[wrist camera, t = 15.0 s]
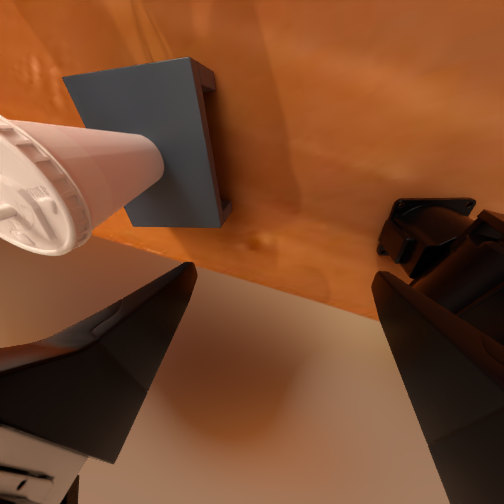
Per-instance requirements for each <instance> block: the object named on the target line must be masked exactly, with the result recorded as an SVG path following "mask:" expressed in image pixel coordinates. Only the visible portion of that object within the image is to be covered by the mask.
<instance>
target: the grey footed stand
mask: <svg viewBox="0 0 504 504" xmlns="http://www.w3.org/2000/svg"><path fill="white" fill-rule="evenodd" d="M62 79H63V81H64V83H65V85H66V87H67V89H68V91H69V93H70V96H71V98H72V100H73V102H74V104H75V106H76V108H77V110H78V112H79V114H80V116H81V118H82V121H83V123H84V125H85V127H86V129H95V130H103V131H112V132H120V133H129V134H137V135H142V136H144V137H146V138H148V139H149V140H150V141H151V142H153V143H154V145H155V146H156V147H157V148H158V150H159V151H160V153H161V156H162V158H163V162H164V172H163V175H162V177H161V178H160V179H159V180H158V181H157V182H155V183H154V184H153V185H151V186H150V187H149V188H147V189H146V190H145V191H143V192H142V193H141V194H139V195H138V196H137V197H135V198H134V199H133V200H131V201H130V202H129V203H127V204H126V205H125V206H124V208H125V210H126V212H127V214H128V217H129V219H130V221H131V223H132V225H133V227H195V228H221V227H222V226H223V224H224V222H225V221H226V219H227V218H228V216H229V215H230V213H231V212H232V204H231V201H221V199H220V193H219V188H218V182H217V176H216V170H215V164H214V158H213V152H212V146H211V140H210V134H209V129H208V123H207V117H206V111H205V105H204V99H203V93H202V92H209V91H216V87H215V79H214V72H213V71H211V70H210V69H208V68H207V67H205V66H204V65H202V64H200V63H199V62H197V61H196V60H194V59H192V58H191V57H184V58H178V59H171V60H165V61H159V62H153V63H147V64H140V65H134V66H128V67H122V68H115V69H109V70H103V71H97V72H91V73H84V74H78V75H72V76H66V77H62Z"/></svg>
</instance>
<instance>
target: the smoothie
mask: <svg viewBox="0 0 504 504" xmlns="http://www.w3.org/2000/svg"><path fill="white" fill-rule="evenodd" d="M163 172H164V162H163V158H162V156H161V153H160V151H159V150H158V148H157V147H156V146H155V145H154V143H153V142H151V141H150V140H149V139H148V138H146V137H144V136H142V135H137V134H129V133H120V132H112V131H103V130H95V129H86V128H77V127H69V126H60V125H51V124H43V123H37V122H27V121H17V120H8V119H6V118H4V117H3V116H1V115H0V237H1V238H2V239H4V240H6V241H8V242H10V243H12V244H14V245H16V246H18V247H21V248H23V249H25V250H28V251H31V252H34V253H37V254H42V255H48V256H59V255H63V254H66V253H68V252H69V251H71V250H73V249H75V248H76V247H79V246H81V245H83V244H85V243H86V242H87V241H88V239H89V237H90V236H91V234H92V230H93V229H94V228H96V227H97V226H99V225H100V224H101V223H103V222H104V221H105V220H107V219H108V218H109V217H110V216H112V215H113V214H114V213H116V212H117V211H118V210H120V209H121V208H122V207H124V206H125V205H126V204H127V203H129V202H130V201H131V200H133V199H134V198H135V197H137V196H138V195H139V194H141V193H142V192H143V191H145V190H146V189H147V188H149V187H150V186H151V185H153V184H154V183H155V182H157V181H158V180H159V179H160V178H161V177H162V175H163Z"/></svg>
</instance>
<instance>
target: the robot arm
mask: <svg viewBox="0 0 504 504" xmlns="http://www.w3.org/2000/svg"><path fill="white" fill-rule="evenodd" d="M402 202H403V204H402V205H401V206H399V204H400V203H402ZM468 202H469V203H468ZM467 203H468V204H467ZM466 204H467V205H466ZM475 204H476V200H474V199H472V198H409V199H398V200H396V201H395V203H394V205H393V207H392V210H391V213H390V216H389V218H388V220H386V222H385V224H384V227H383V230H382V233H381V235H380V238H379V245H378V248H377V252H378V254H379V255H389V256H390V257H391V258H392V260H393V261H394V262H395V263H396V264H400V265H401V267H402V268H403V269H404V271H405V272H406V273H407V274H408V276H409V277H410V278H412V279H414V280H413V281H412V282H411V283H410V284H409V285H408V284H407V283H405V282H404V281H402V280H400V279H399V278H397V277H396V276H394V275H393V274H391V273H389V272H386V271H378V272H377V273H376V275H375V277H374V280H373V282H372V287H371V288H372V293H373V297H374V301H375V304H376V308H377V312H378V316H379V320H380V322H381V325H382V328H383V330H384V333H385V336H386V338H387V341H388V343H389V346H390V349H391V351H392V354H393V356H394V359H395V361H396V364H397V367H398V369H399V372H400V374H401V377H402V380H403V382H404V385H405V387H406V390H407V392H408V395H409V398H410V400H411V403H412V406H413V408H414V411H415V413H416V416H417V418H418V421H419V424H420V426H421V429H422V431H423V434H424V436H425V439H426V442H427V444H428V447H429V450H430V453H431V455H432V458H433V460H434V463H435V466H436V468H437V470H438V473H439V476H440V479H441V481H442V483H443V486H444V489H445V492H446V494H447V497H448V499H449V502H450V504H504V214H500V213H496V212H492V211H489V210H485V209H484V210H483V211H482V212H481V213H480V214H479V215H478V216H477V217H478V218H477V219H476V220H475V221H474V220H472V219H470V218H469V217H468V216H469V214H470V212H471V211H472V209H473V208H474V206H475ZM381 250H384V251H381ZM196 280H197V271H196V268H195V265H194V263H193V262H185V263H183V264H181V265H179V266H178V267H176V268H174V269H172V270H171V271H169V272H167V273H166V274H164V275H162V276H160V277H159V278H157V279H155V280H154V281H152V282H150V283H148V284H147V285H145V286H143V287H141V288H140V289H138V290H136V291H135V292H133V293H131V294H130V295H128V296H126V297H124V298H123V299H121V300H119V301H117V302H116V303H114V304H112V305H110V306H108V307H107V308H105V309H103V310H101V311H99V312H98V313H96V314H94V315H92V316H90V317H88V318H86V319H84V320H83V321H80V322H78V323H76V324H74V325H72V326H70V327H69V328H67V329H65V330H63V331H61V332H59V333H57V334H55V335H53V336H51V337H49V338H46V339H43V340H40V341H37V342H33V343H29V344H24V345H17V346H11V347H5V348H0V504H78V490H79V475H78V473H79V471H80V470H81V468H82V466H83V465H84V463H85V461H86V460H87V458H88V457H89V458H92V459H96V460H99V461H103V462H107V463H110V464H114V463H115V461H116V459H117V457H118V455H119V453H120V451H121V449H122V446H123V444H124V442H125V440H126V438H127V436H128V434H129V431H130V429H131V427H132V425H133V423H134V421H135V419H136V416H137V414H138V412H139V410H140V408H141V406H142V403H143V401H144V399H145V397H146V395H147V391H148V390H149V388H150V386H151V384H152V381H153V379H154V377H155V375H156V373H157V370H158V368H159V366H160V364H161V362H162V360H163V358H164V355H165V353H166V351H167V349H168V347H169V344H170V342H171V340H172V338H173V336H174V334H175V331H176V329H177V327H178V325H179V323H180V321H181V318H182V316H183V314H184V312H185V310H186V308H187V305H188V303H189V301H190V297H191V295H192V291H193V289H194V285H195V283H196Z"/></svg>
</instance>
